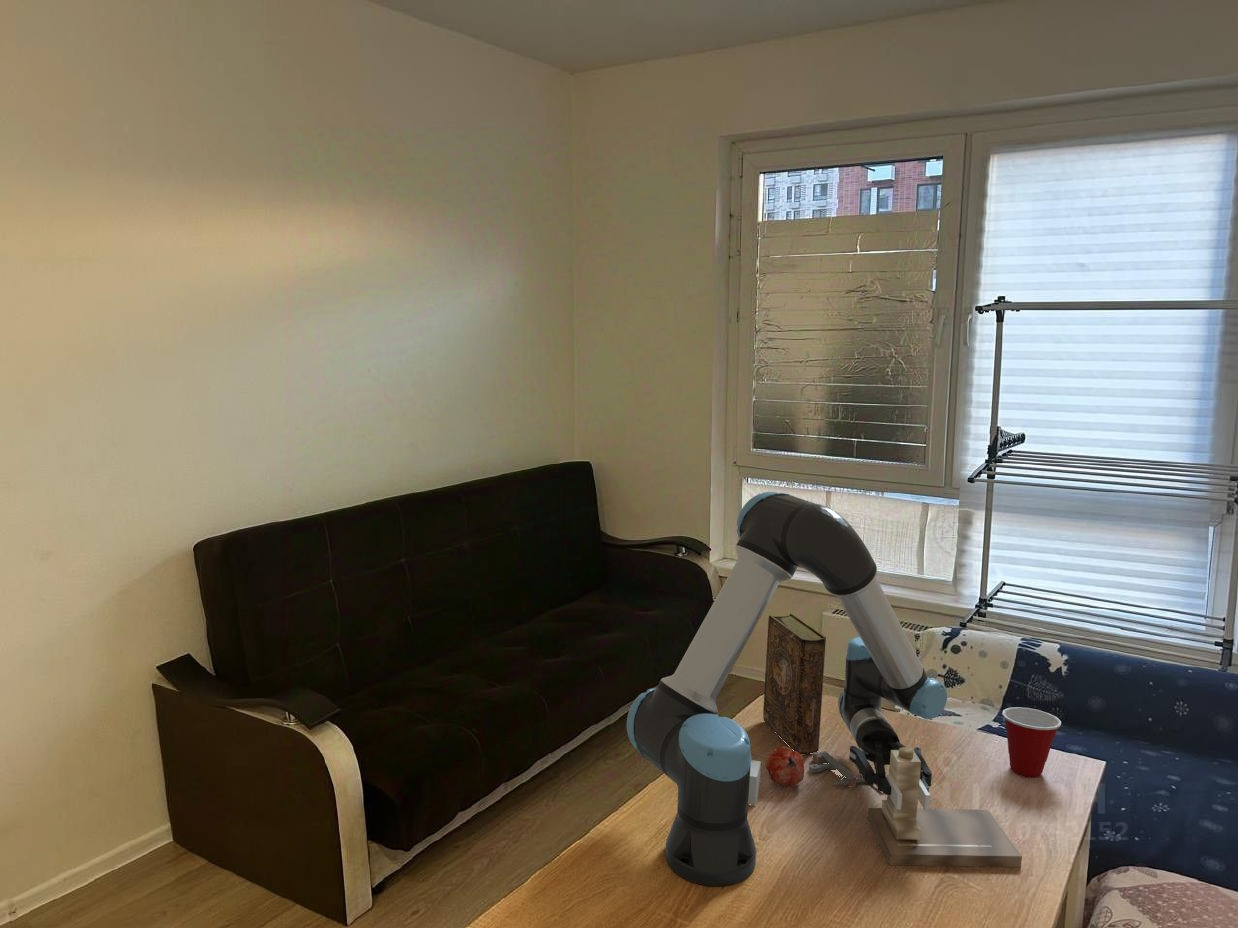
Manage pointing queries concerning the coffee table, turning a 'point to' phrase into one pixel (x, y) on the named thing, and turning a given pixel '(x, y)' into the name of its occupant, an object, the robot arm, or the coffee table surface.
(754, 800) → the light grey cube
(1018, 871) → the coffee table surface
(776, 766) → the pomegranate
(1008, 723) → the plastic cup
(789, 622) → the book
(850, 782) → the clamp
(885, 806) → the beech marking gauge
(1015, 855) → the grey flat plate
